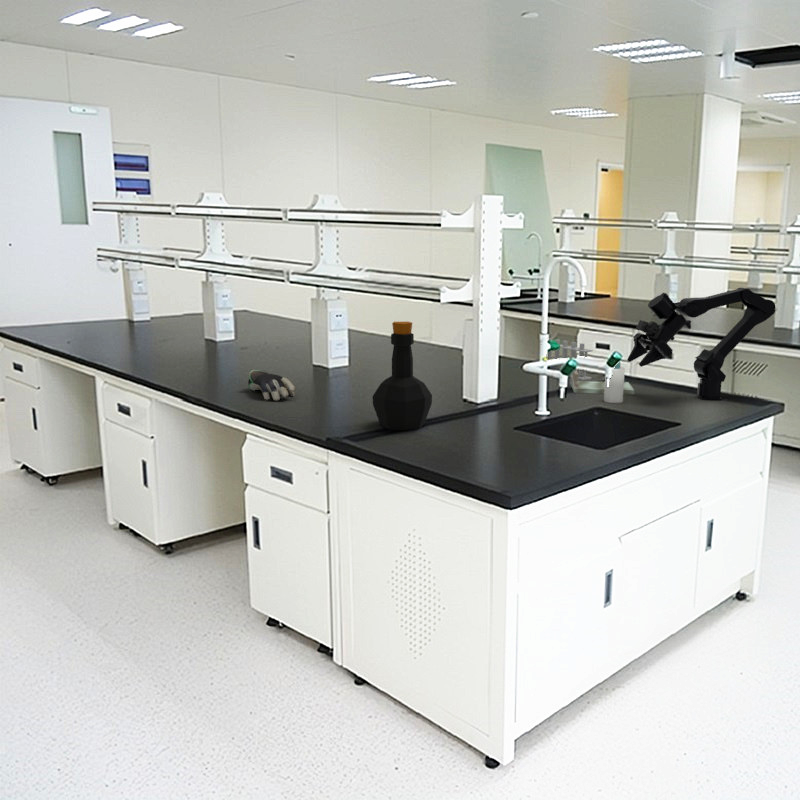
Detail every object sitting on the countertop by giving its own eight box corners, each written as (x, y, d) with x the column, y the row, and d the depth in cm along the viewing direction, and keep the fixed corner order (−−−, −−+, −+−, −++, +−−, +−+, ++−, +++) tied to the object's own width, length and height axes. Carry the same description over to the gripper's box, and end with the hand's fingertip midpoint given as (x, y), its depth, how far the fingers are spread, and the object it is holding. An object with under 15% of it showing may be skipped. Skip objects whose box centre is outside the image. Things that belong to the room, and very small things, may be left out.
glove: (241, 398, 286) (269, 402, 264) (241, 369, 285) (268, 371, 264) (274, 397, 292) (304, 400, 271) (274, 369, 291) (304, 370, 270)
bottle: (398, 416, 248) (397, 317, 241) (441, 424, 237) (442, 321, 231) (362, 426, 236) (361, 322, 229) (407, 435, 225) (407, 327, 219)
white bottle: (621, 399, 271) (623, 360, 268) (623, 403, 265) (626, 363, 263) (602, 398, 272) (604, 360, 269) (605, 402, 266) (607, 363, 263)
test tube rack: (591, 379, 306) (593, 344, 304) (583, 380, 304) (584, 345, 301) (546, 369, 327) (547, 336, 324) (537, 370, 325) (539, 337, 322)
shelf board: (628, 386, 293) (629, 368, 291) (634, 394, 279) (635, 375, 278) (571, 385, 295) (571, 367, 294) (574, 392, 281) (575, 374, 280)
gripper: (640, 308, 273) (607, 342, 274) (665, 314, 255) (629, 350, 256) (661, 331, 276) (628, 364, 277) (687, 339, 258) (652, 374, 259)
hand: (633, 363), depth 267 cm, fingers open, 9 cm apart
